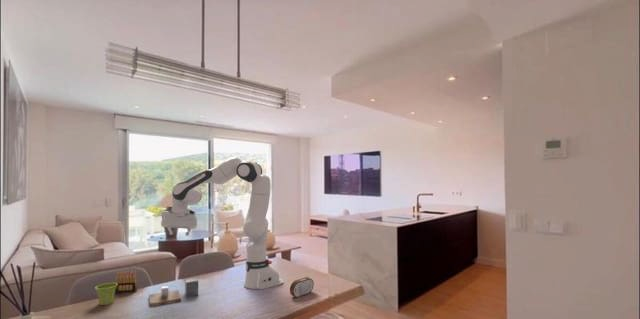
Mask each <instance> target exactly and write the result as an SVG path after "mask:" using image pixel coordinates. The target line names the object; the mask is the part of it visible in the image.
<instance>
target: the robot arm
mask: <svg viewBox="0 0 640 319" xmlns="http://www.w3.org/2000/svg"><path fill="white" fill-rule="evenodd" d="M235 177H239V178H240V180H243V181H245V182H247V183H250V184H251V192H250V198H249V206H248V210H247V214H246V217H245V222H244V225H243V227H242V229H243V234H244V236H245V237H247V238H248V240H247V245H246V260H245V271H246V272H245V273H246V274H245V280H244V283H243V286H244V287H245V288H246V289H251V290H252V289H253V290H265V289H268V288H273V287H276V286H280V285H283V284H284V280H283V279H282V278H281V277H280V274H279V271H277V270H276V269H275V268H274V267H272V266H271V265H272V264H273V261H272V260H269V259H267V242H268V241H267V240H268V230H269V221H268V219H267V213H268V210H269V207H270V206H269V205H270V198H271V190H272V189H271V187H272V186H271V178H270V176H267V175H266V174H263V168H262V166H261V165H260V164H258V163H257V162H254V161H242V160H241V159H240V158H239V157H237V156H233V157H230V158H229V159H227V160H225V161H223V162H221V163H219V165H217V166H215V167H213V168H211V169H207V170H203V171H201V172H199V173H198V174H196V175H194V176H192V177H191V178H189V179H187V180H183V181H182V182H178V183H177V184H176V185H174V186H173V189H172V192H171V193H172V195H171V202H172V203H171V204H172V206H171V211H169V210H165V211H163V212H161V221H160V222H161V223H160V224H161V225H160V226H161V228H167V231H168V232H169V235H171V236H172V235H174V231H173V230H172V228H173V229H186V230H187V231H186V232H185V236H187V237H188V236H190V232H191V230H195V229H196V228H197V226H198V221H197V220H198V219H197V216H196V214H197V213H196V211H195V210H192V209H190V208H188V207H189V206H193V205H194V206H195V205H197V204H198V203H200V202H201V200H202V195H203V194H202V191H200V190H199V189H197V188H198V187H199V186H201V185H204V184H208V183H209V184H214V185H215V184H216V185H224V184H226V183H228V182H229V181H231V180H232V179H233V178H235Z"/></svg>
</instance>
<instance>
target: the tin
mask: <svg viewBox="0 0 640 319" xmlns="http://www.w3.org/2000/svg"><path fill="white" fill-rule="evenodd" d="M314 286H315V285H314V280H313V279H312V278H310V277H308V276H305V277H303V278H299V279H296V280H294V281H293V282H292V283H291V284H290V287H289V294H290V295H291V296H292V297H294V298H300V297H302V296H305V295H309V294H311V292H312V291H313V289H314Z"/></svg>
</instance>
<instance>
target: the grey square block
mask: <svg viewBox="0 0 640 319" xmlns="http://www.w3.org/2000/svg"><path fill="white" fill-rule="evenodd" d="M184 296H185V297H186V298H190V297H195V296H199V280H198V278H197V277H193V278H186V279H184Z"/></svg>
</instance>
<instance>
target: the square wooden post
mask: <svg viewBox="0 0 640 319" xmlns="http://www.w3.org/2000/svg"><path fill="white" fill-rule="evenodd" d="M160 291H161V292H160V293H161V297H162V298H164V297H168V292H169V286H161V290H160Z"/></svg>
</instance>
